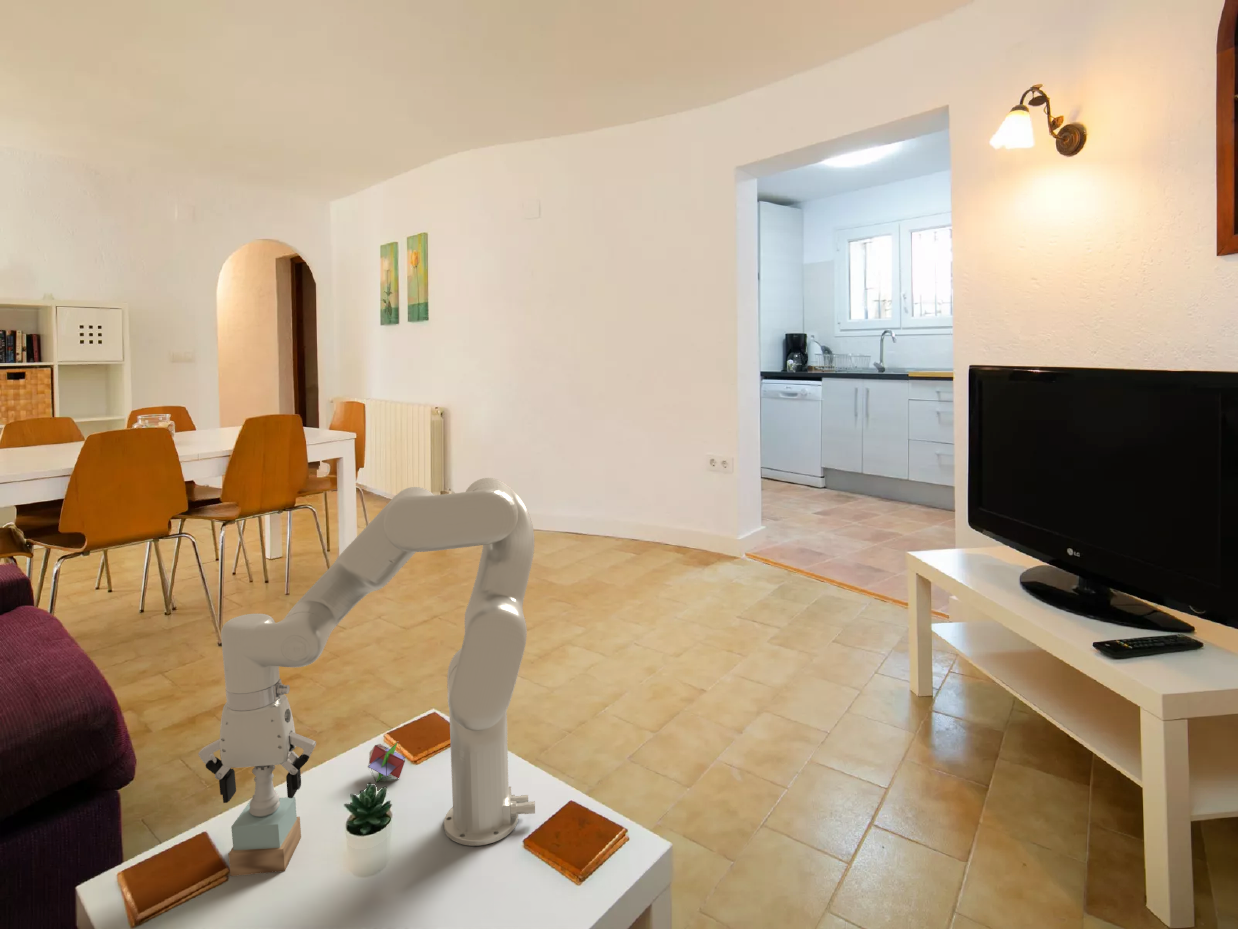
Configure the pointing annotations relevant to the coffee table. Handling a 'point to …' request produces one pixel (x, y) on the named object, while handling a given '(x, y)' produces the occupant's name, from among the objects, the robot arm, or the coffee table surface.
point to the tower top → (264, 827)
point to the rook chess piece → (264, 792)
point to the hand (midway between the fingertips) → (261, 795)
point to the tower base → (265, 856)
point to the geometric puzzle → (386, 761)
